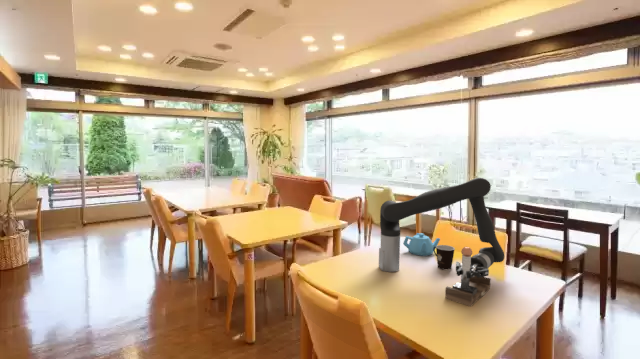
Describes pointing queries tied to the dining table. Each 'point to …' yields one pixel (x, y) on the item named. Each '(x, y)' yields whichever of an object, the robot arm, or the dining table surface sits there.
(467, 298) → the base
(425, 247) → the teapot
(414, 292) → the dining table surface
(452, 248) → the coffee mug
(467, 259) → the handle
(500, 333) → the dining table surface
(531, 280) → the dining table surface
